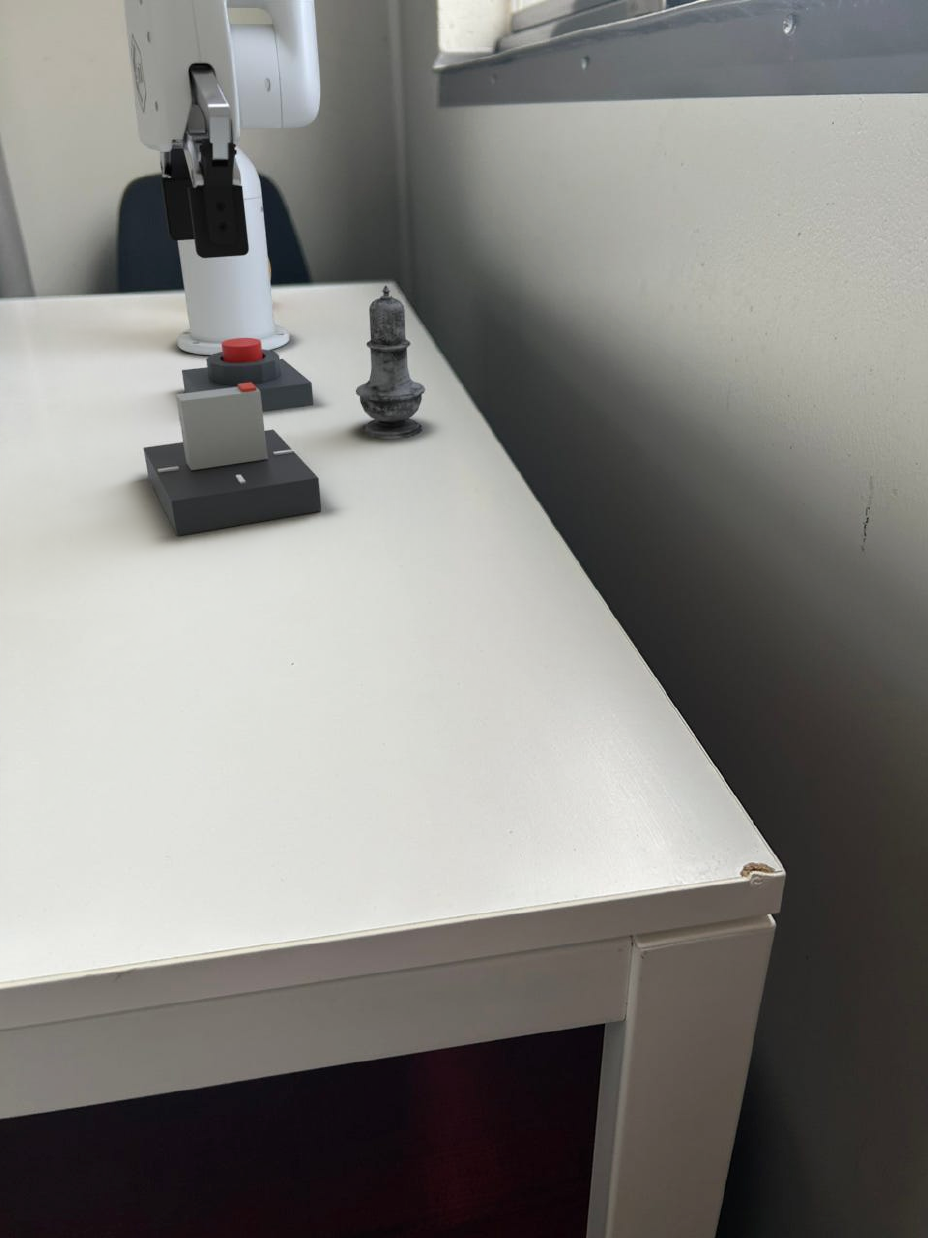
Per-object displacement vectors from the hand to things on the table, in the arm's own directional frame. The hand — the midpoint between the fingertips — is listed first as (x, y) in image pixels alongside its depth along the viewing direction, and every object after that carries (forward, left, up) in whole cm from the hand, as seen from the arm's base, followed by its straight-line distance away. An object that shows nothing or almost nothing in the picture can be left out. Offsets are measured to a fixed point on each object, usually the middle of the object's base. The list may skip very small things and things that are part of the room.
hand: (207, 246), depth 66 cm
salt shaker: (-7, +15, -17) cm, 24 cm away
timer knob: (+2, -1, -14) cm, 14 cm away
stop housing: (-22, +6, -17) cm, 29 cm away
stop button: (-22, +6, -13) cm, 27 cm away
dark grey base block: (+2, -1, -17) cm, 17 cm away
